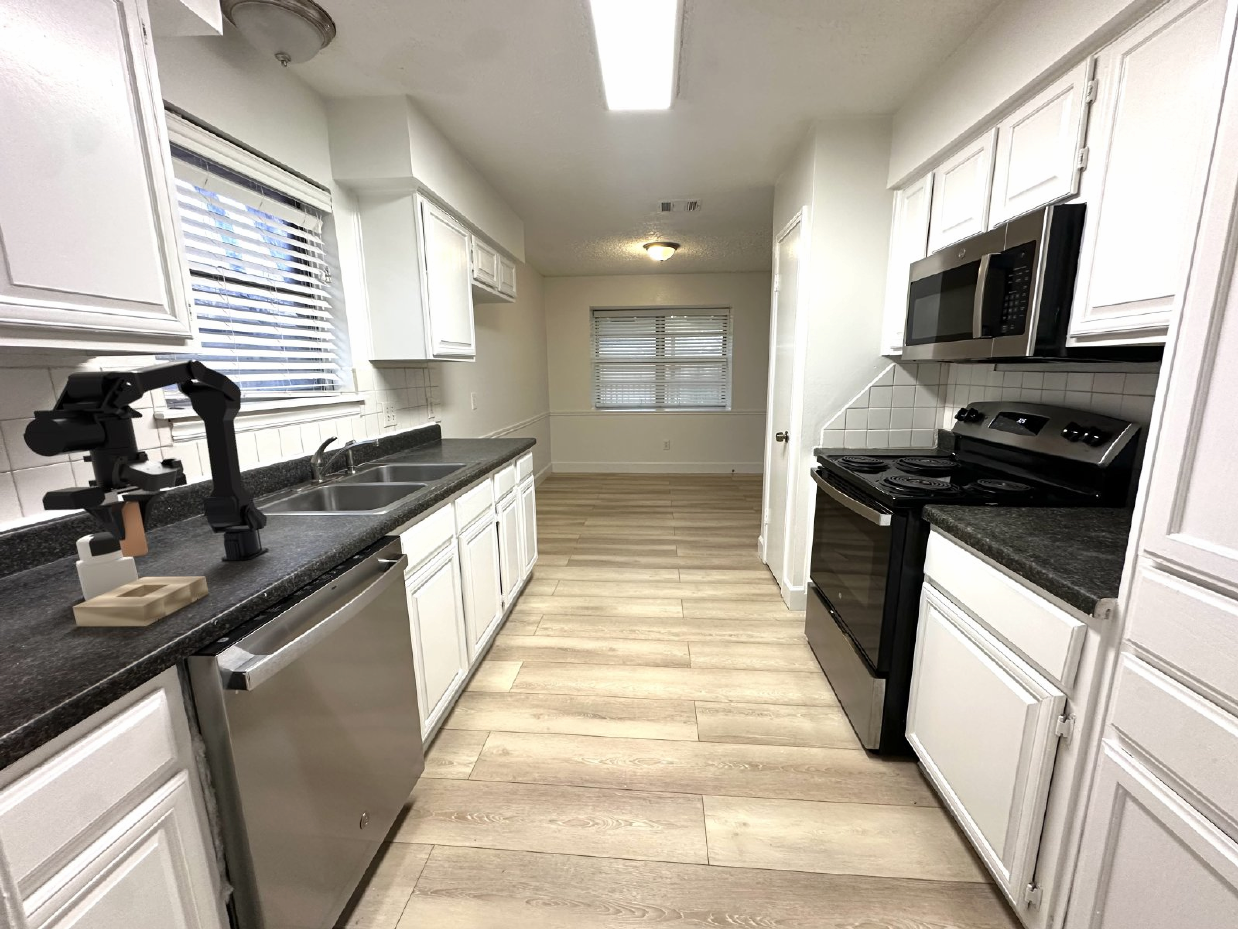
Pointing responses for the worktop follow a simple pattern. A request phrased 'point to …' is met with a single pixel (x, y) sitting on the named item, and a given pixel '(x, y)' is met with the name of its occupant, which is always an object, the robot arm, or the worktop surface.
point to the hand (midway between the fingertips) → (132, 537)
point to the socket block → (140, 601)
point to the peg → (133, 531)
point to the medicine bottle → (103, 565)
